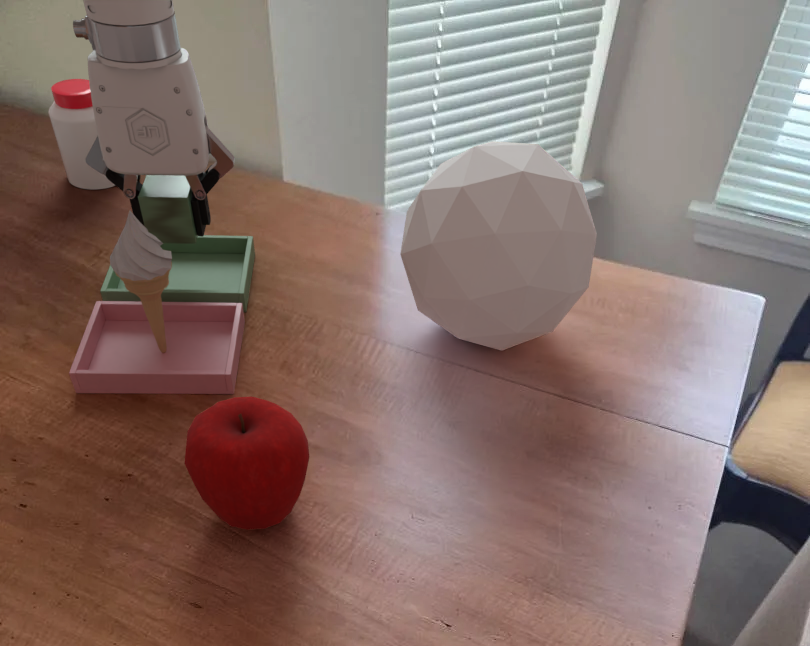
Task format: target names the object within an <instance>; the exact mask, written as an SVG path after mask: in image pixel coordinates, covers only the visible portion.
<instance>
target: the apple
mask: <svg viewBox="0 0 810 646" xmlns="http://www.w3.org/2000/svg"><path fill="white" fill-rule="evenodd" d="M185 441H186V442H185V443H186V444H185V452H184V462H183V463H184V466H185V469H186V470H187V473H188V475H189V477H190V479H191V481H192V482H193V485H194V487H195V489H196V491H197V493H198V494H199V496H200V498H201V500H202V501H203V502H204V503H205V505H207V506H208V508H209V509H211V511H212V512H213V513H214V514H215V515H216V516H217V517H218V519H220V520H221V521H222V522H224V523H226V525H228V526H230V527H232V528H237V529H241V530H249V531H251V530H265V529H268V528H270V527H273V526H276V525H278V524H281V523H282V522H283V521H284V520H285V519H286V518H287V517H288V516H289V515H290V514H291V513H292V511H293V509H294V507H295V505H296V503H297V502H298V500H299V498H300V496H301V493H302V490H303V487H304V484H305V481H306V477H307V472H308V468H309V467H308V466H309V461H310V449H309V440H308V438H307V435H306V433H305V430H304V428H303V426H302V424H301V423H300V422H299V420H297V418H296V416H294V415H293V414H292V413H291V412H290V411H289V410H287V409H285V408H284V407H282V406H280V405H279V404H277V403H275V402H272V401H270V400H268V399H263V398H259V397H256V396H253V395H252V396H234V397H231V398H227V399H223V400H220V401H217V402H216V403H214V404H213V405H211V406H209V407H207V409H205V410H203V411H202V412H200V413H198V414H196V415H195V417H194V419H193V420H192V422H191V424H190V425H189V427H188V429H187V431H186V440H185Z"/></svg>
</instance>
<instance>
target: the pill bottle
mask: <svg viewBox="0 0 810 646" xmlns="http://www.w3.org/2000/svg"><path fill="white" fill-rule="evenodd" d="M50 90H51V93H52V96H53V102H52V103H51V105H50V106H49V108H48V117H49V120H50V124H51V127H52V130H53V134H54V137H55V140H56V145H57V147H58V151H59V154H60V159H61V162H62V165H63V167H64V171H65V174H66V178H67V180H68V183H69V184H70V185H72V186H73V187H76V188H79V189H82V190H90V191H91V190H92V191H93V190H105V189H109V188H110V189H111V188H113V187H117V186H116V185H114V184H113V183H112V182H111V181H109V180H108V179H107V177H106V176H105V175H104V174H103V175H102V174H101V173H99V172H98V171H96V170H95V169H93V168H92V167H91V166H89V165H88V164H87V163H86V161H85V159H86V156H87V155H88V153H89V151H90V149H91V147H92V145H93V143H94V141H95V139H96V138H97V136H98V133H97V128H96V122H95V117H94V111H93V105H92V99H91V91H90V84H89V79H85V78H69V79H64V80H60V81H58V82H55V83H53V85H52V86H51V87H50Z"/></svg>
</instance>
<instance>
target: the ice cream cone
mask: <svg viewBox="0 0 810 646" xmlns="http://www.w3.org/2000/svg"><path fill="white" fill-rule="evenodd" d="M162 244H163V243H162V242H161V241H160V240H159V239H158V238H157V237H156V236H154V235H153V234H151V233H149V232H148V230H147V228H146V227H145V226H143V225H142V224H141V223H140V222H139V220H138V219H137V218H136V217H135V216H134V214H133V211H132V210H131V209H129V210H128V214H127V218H126V221H125V225H124V226H123V229H122V231H121V233H120V235H119V237H118V239H117V242H116V244H115V245H114V248H113V249H112V251H111V254H110V255H109V266H110V265H111V267H112V269H113V270H114V271H115V273H116V275H117V276H118V277H119V278H121V280H122V281H123V282H124V284H125V287H126V289H127V290H128V291H129V292H131V293H134V294H136V295H137V296H138V297H139V298H140V300H141V303H142V305H143V308H144V311H145V314H146V316H147V319H148V321H149V324H150V326H151V329H152V332H153V334H154V336H155V339H156V342H157V345H158V347H159V349H160V351H161V352H162V353H165V352H166V350H167V345H166V338H165V327H164V317H163V308H162V300H161V293H162V291H163V290H164V289H165V288H166V287H167V286H168V284H169V279H168V277H169V271H170V270H171V268H172V261H171V260H172V254H171V251H167V250H163V249H162V248H161V247H160V245H162Z"/></svg>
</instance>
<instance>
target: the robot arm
mask: <svg viewBox="0 0 810 646" xmlns="http://www.w3.org/2000/svg"><path fill="white" fill-rule="evenodd" d="M82 1H83V5H84V9H85V14H86V15H85V16H84V18H81V19H73V20H72V28H73V33H74V36H75V37H76V38H79V39H80V38H81V39H84V40H86V41H89V43H90V45H91V49H92V51H91V52H90V53H89V54H88V56H87V73H88V80H89V84H90V91H91V99H92V105H93V111H94V117H95V122H96V128H97V133H98V136H97V138H96V139H95V141H94V143H93V145H92V147H91V149H90V151H89V153H88V155H87V156H86V159H85V161H86V163H87V164H88V165H89V166H91V167H92V168H93V169H95V170H96V171H98V172H99V173H101V174H102V175H103V174H104V175H105V176H106V177H107V179H108V180H109V181H111V182H112V183H113V184H114V185H116V186H115V187H116V188H118V189H119V190H121V191H122V193H123V195H124V197H125V198H126V199H129V202H130V207H131V212H132V213H133V214H134V216H135V217H136V218H137V219H138V220H139V222H140V223H141V224H142V225H143V226H145V225H144V221H143V217H142V213H141V209H140V204H139V200H138V196H139V193H140V190H141V188H142V185H143V183H142V182H141V176H146V175H174V176H185V177H186V179H187V181H188V183H189V186H190V188H191V190H192V198H191V207H192V213H193V218H194V224H195V229H196V234H197V235H198V236H204V235H205V232H206V228H207V226H210V225H211V221H212V220H211V211H210V205H209V199H208V194H209V193H210V191H212V190H213V188H214V187H215V186H216V184H217V183H219V181H220V179H221V178H223V177H224V176H225V175H227V174H228V172H230V171H231V170H232V169H233V168H234V166H235V162H236V158H235V155H234V154H233V153H232V152H231V151H230V150H229V148H228V147H226V146H225V144H224V143H223V142H222V141H221V140H220V139H219V138H218V137H217V136H216V135H215V133H214V132H213V131H212V130H211V128H209V123H208V118H207V112H206V109H205V105H204V100H203V97H202V92H201V88H200V85H199V81H198V77H197V75H196V71H195V67H194V65H193V62H192V59H191V57H190V54H189V51H188V50H187V49H186V48H183V47H181V42H180V35H179V31H178V24H177V18H176V12H175V8H174V2H173V0H82ZM209 155H211V156H212V157H213V158H214V159H215V161H214V163H213V164H211V165H209V160H210V159H209V158H210V156H209ZM208 166H209V167H208Z"/></svg>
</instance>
